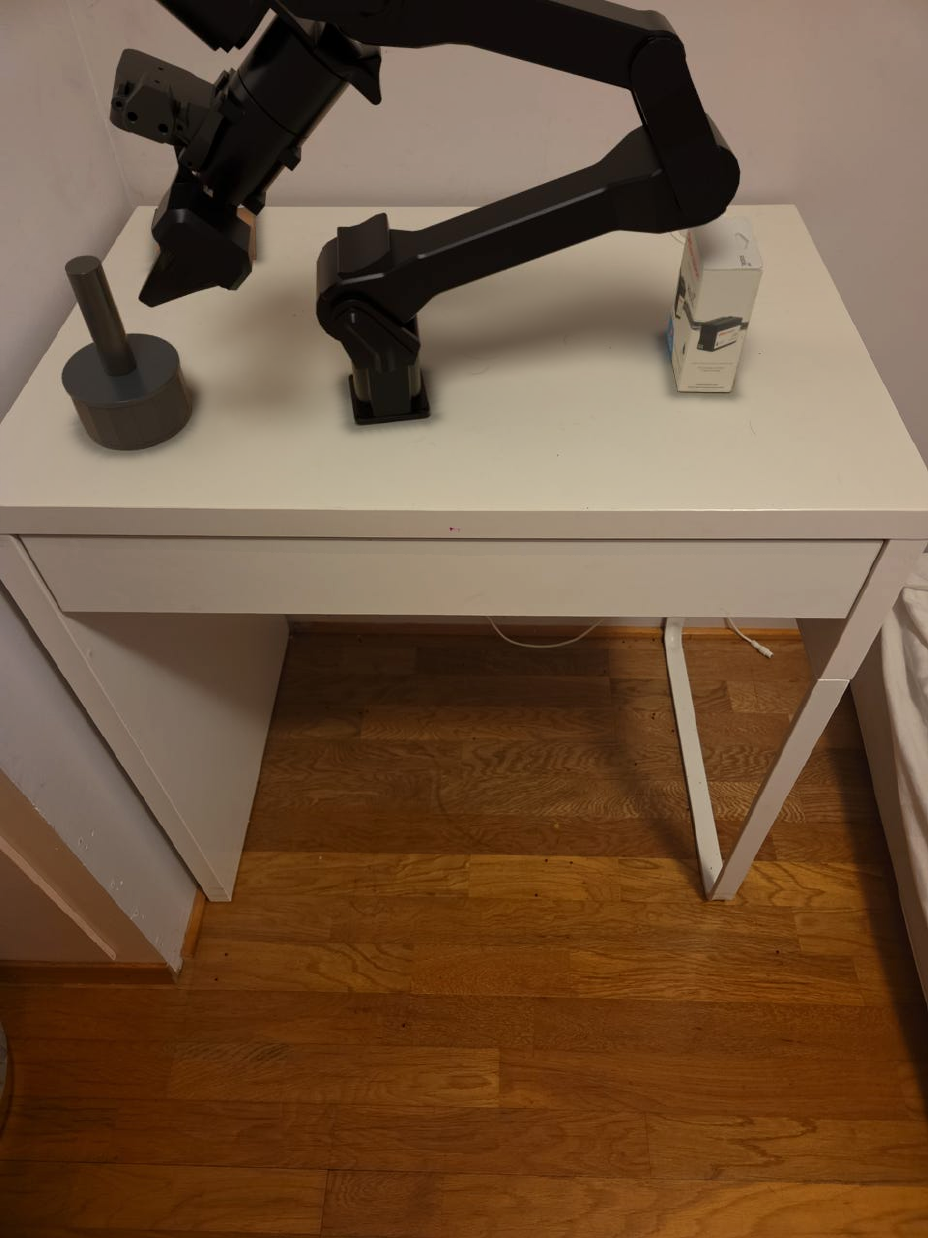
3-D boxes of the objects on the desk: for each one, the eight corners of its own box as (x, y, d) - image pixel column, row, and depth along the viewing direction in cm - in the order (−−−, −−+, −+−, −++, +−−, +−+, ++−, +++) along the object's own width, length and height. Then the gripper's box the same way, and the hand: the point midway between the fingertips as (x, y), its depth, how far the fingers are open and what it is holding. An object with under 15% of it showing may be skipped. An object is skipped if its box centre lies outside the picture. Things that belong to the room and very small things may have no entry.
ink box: (664, 335, 83) (688, 212, 74) (718, 336, 83) (748, 212, 74) (675, 393, 78) (702, 268, 69) (732, 393, 78) (766, 269, 69)
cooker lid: (180, 407, 71) (143, 292, 63) (59, 420, 71) (7, 306, 63) (184, 338, 77) (150, 225, 69) (72, 350, 76) (25, 237, 68)
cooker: (190, 443, 75) (176, 399, 71) (79, 456, 74) (59, 412, 70) (192, 377, 80) (179, 334, 77) (89, 388, 79) (71, 345, 76)
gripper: (179, -46, 59) (69, 135, 68) (143, 66, 48) (16, 269, 56) (314, 78, 66) (199, 230, 74) (312, 203, 55) (176, 366, 63)
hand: (152, 267), depth 67 cm, fingers open, 9 cm apart
